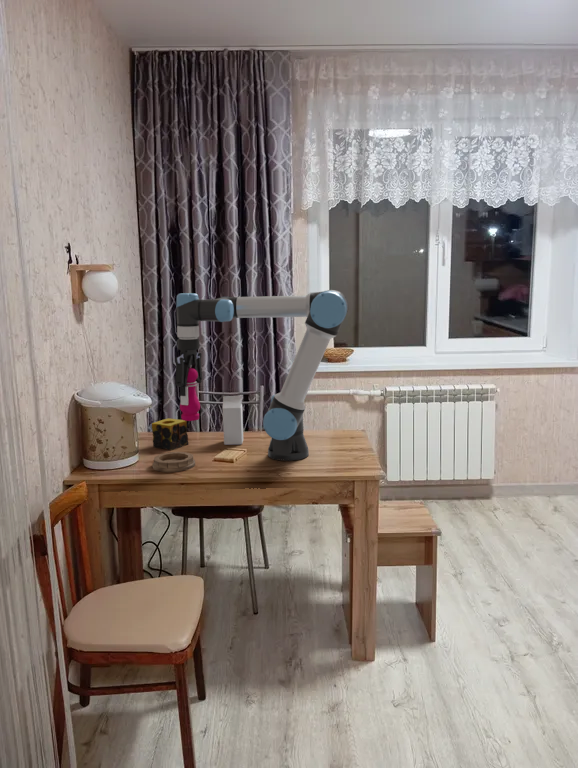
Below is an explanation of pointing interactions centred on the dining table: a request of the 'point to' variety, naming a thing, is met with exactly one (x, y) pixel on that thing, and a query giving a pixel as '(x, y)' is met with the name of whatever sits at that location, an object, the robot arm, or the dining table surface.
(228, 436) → the milk carton
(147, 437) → the dining table surface
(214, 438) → the dining table surface
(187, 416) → the pepper mill
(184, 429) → the black yellow cube
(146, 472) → the dining table surface
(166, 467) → the grey brown stone ring
